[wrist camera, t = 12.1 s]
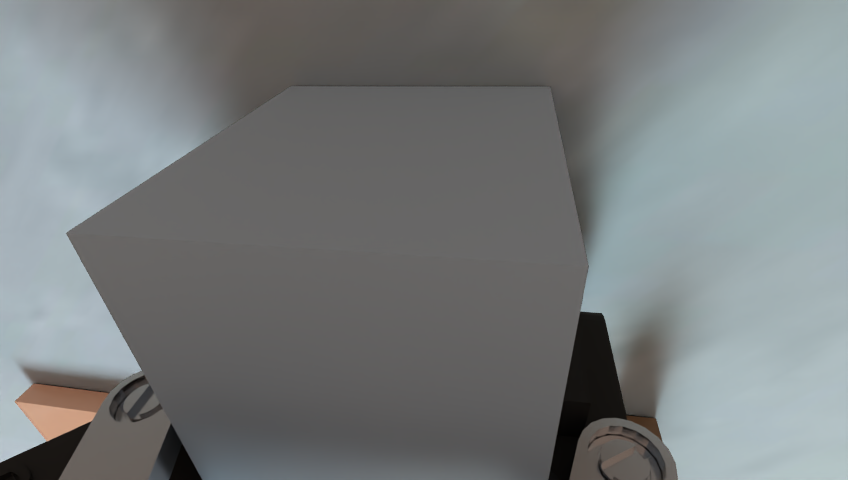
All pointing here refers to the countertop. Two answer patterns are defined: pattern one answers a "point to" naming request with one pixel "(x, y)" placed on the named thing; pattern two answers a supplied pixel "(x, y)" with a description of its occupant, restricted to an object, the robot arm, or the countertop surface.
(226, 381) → the slate block
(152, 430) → the robot arm
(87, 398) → the coaster
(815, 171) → the countertop surface
